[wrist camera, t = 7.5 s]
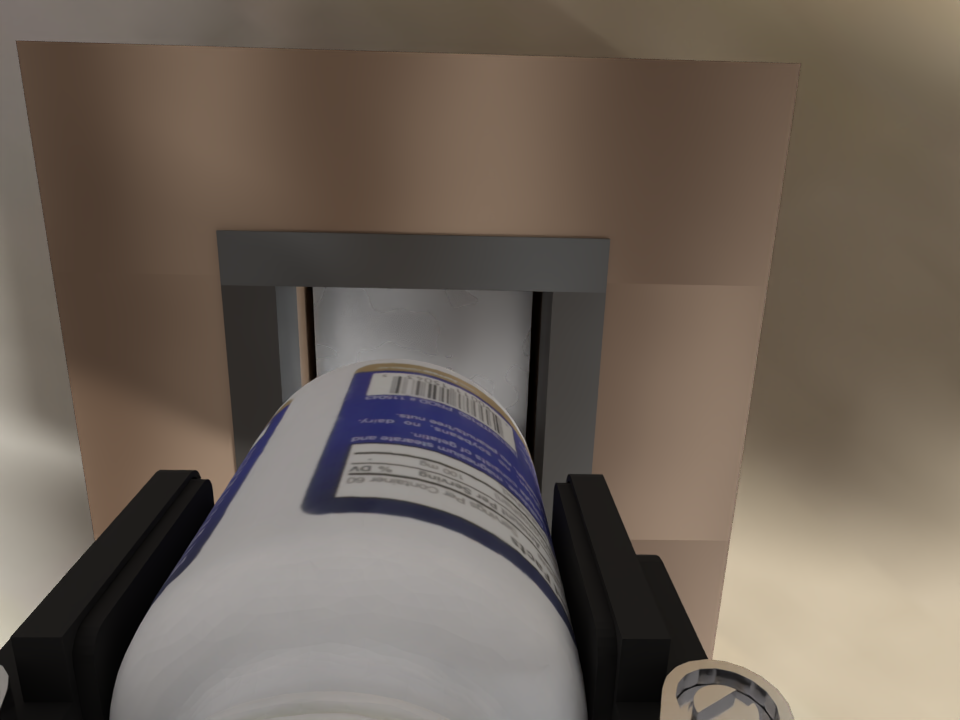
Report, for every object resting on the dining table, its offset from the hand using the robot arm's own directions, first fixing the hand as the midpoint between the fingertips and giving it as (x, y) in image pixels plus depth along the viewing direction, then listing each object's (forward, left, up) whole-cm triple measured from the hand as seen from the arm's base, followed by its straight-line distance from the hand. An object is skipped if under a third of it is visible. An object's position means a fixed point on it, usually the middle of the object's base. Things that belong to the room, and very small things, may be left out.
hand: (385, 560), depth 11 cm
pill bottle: (0, 0, -3) cm, 3 cm away
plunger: (0, 0, -10) cm, 10 cm away
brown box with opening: (0, 0, -16) cm, 16 cm away
